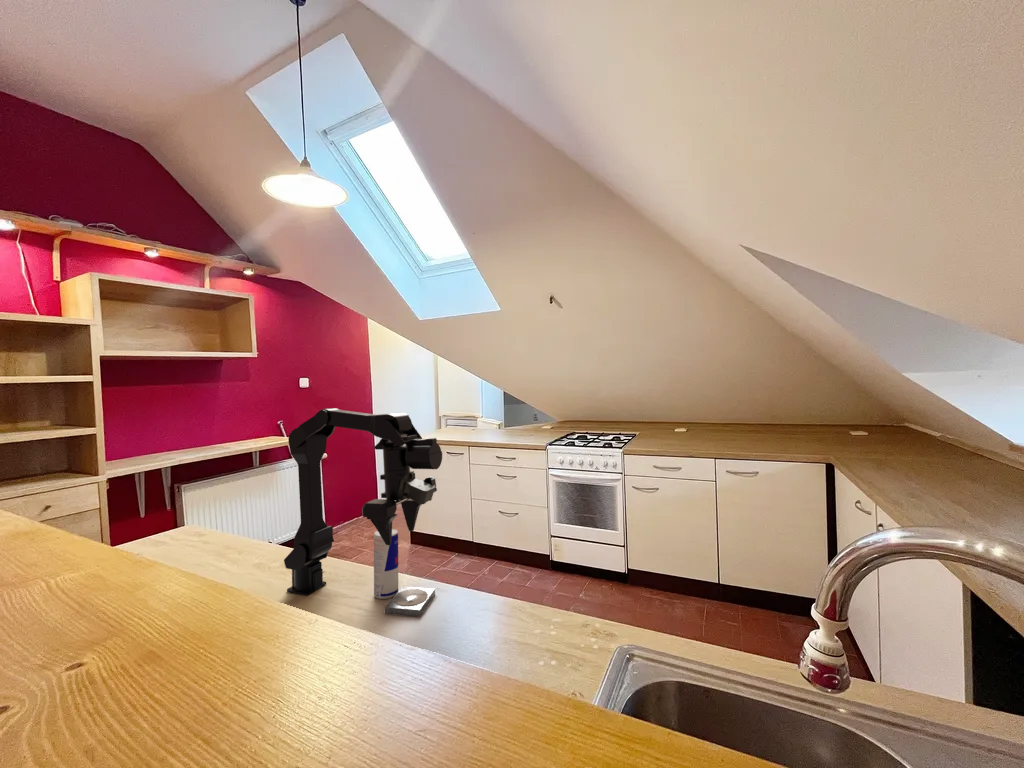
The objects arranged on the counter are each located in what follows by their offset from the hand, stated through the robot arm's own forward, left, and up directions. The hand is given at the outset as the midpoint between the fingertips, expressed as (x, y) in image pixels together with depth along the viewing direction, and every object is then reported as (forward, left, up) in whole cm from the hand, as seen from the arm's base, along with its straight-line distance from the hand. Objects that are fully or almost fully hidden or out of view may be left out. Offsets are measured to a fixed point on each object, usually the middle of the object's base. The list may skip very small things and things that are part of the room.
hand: (400, 537), depth 99 cm
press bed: (+2, +1, -15) cm, 15 cm away
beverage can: (-6, +3, -16) cm, 17 cm away
